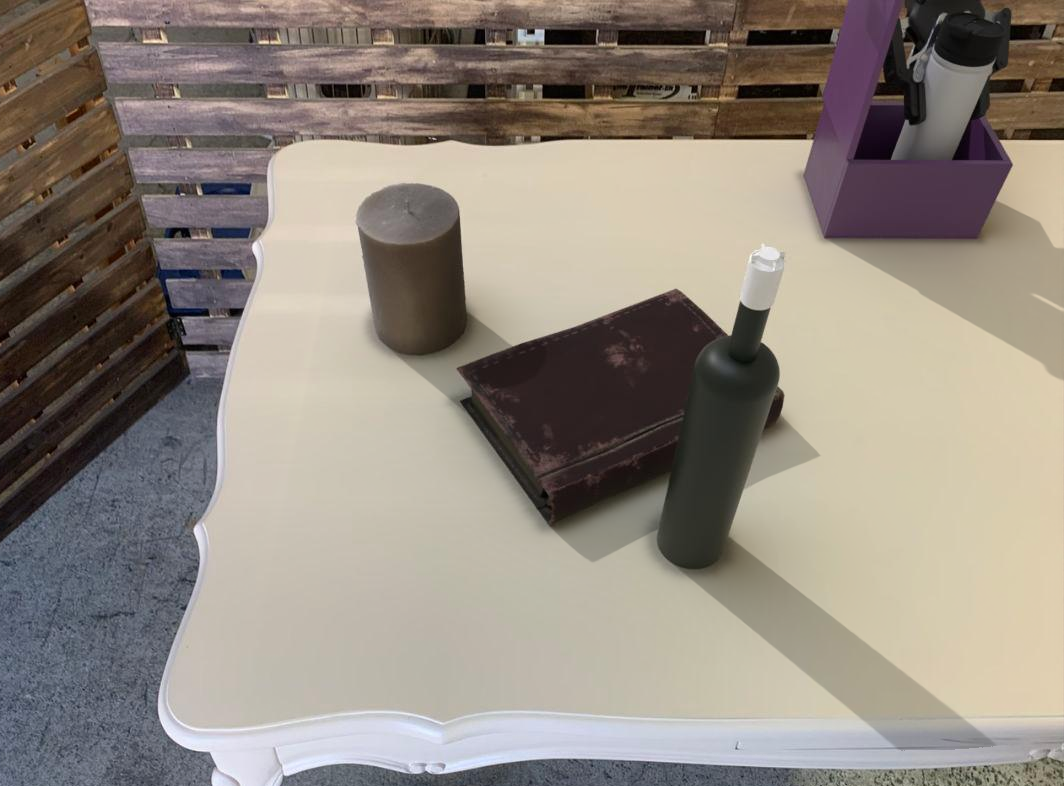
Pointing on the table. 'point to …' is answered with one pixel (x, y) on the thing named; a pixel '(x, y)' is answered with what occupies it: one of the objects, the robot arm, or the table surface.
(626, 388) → the diary
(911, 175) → the box
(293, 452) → the table surface
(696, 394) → the wine bottle
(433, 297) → the pillar candle
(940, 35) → the travel mug
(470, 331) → the table surface
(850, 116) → the lid
